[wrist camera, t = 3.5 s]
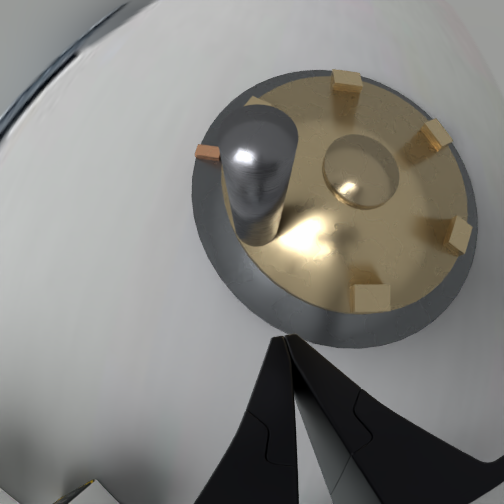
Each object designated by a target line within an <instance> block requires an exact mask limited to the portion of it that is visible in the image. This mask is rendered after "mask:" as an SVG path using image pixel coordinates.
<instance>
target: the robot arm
mask: <svg viewBox="0 0 504 504" xmlns="http://www.w3.org/2000/svg"><path fill="white" fill-rule="evenodd" d="M294 397H295V400H296V403H297V406H298V408H299V411H300V414H301V417H302V419H303V422H304V425H305V428H306V430H307V433H308V436H309V439H310V441H311V444H312V447H313V450H314V452H315V455H316V458H317V460H318V463H319V466H320V469H321V471H322V474H323V477H324V479H325V482H326V485H327V488H328V490H329V493H330V495H331V498H332V501H333V504H504V455H503V456H502V457H500V458H499V459H497V460H496V461H494V462H489V463H486V462H482V461H479V460H477V459H475V458H474V457H472V456H470V455H468V454H466V453H464V452H462V451H461V450H459V449H457V448H455V447H453V446H452V445H450V444H448V443H446V442H444V441H443V440H441V439H439V438H437V437H436V436H434V435H432V434H430V433H429V432H427V431H425V430H424V429H422V428H420V427H418V426H417V425H415V424H413V423H412V422H410V421H408V420H407V419H405V418H403V417H402V416H400V415H398V414H397V413H395V412H393V411H392V410H390V409H389V408H387V407H386V406H384V405H383V404H381V403H380V402H379V401H377V400H376V399H375V398H373V397H372V396H371V395H369V394H368V393H367V392H366V391H365V390H363V389H361V388H360V387H359V386H358V385H357V384H356V383H354V382H353V381H352V380H351V379H350V378H348V377H347V376H346V375H345V374H343V373H342V372H341V371H340V370H339V369H337V368H336V367H335V366H334V365H333V364H332V363H330V362H329V361H328V360H327V359H326V358H324V357H323V356H322V355H321V354H320V353H318V352H317V351H316V350H315V349H314V348H313V347H311V346H310V345H309V344H308V343H307V342H306V341H304V340H303V339H302V338H301V337H300V336H299V335H297V334H290V335H285V337H284V336H278V337H273V338H271V341H270V344H269V346H268V349H267V352H266V355H265V358H264V361H263V364H262V367H261V370H260V372H259V375H258V378H257V381H256V384H255V386H254V389H253V392H252V395H251V397H250V400H249V403H248V406H247V408H246V411H245V413H244V416H243V418H242V421H241V423H240V426H239V428H238V430H237V433H236V435H235V436H234V438H233V440H232V442H231V444H230V446H229V448H228V449H227V451H226V453H225V454H224V456H223V458H222V459H221V461H220V463H219V464H218V466H217V468H216V469H215V471H214V472H213V474H212V476H211V477H210V479H209V481H208V482H207V484H206V485H205V487H204V489H203V490H202V492H201V493H200V495H199V496H198V498H197V499H196V501H195V503H194V504H299V492H298V464H297V441H296V421H295V403H294Z"/></svg>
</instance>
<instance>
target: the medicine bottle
mask: <svg viewBox="0 0 504 504" xmlns="http://www.w3.org/2000/svg"><path fill="white" fill-rule="evenodd" d="M53 504H119V503H118V502H117V501H116V500H115V499H114V498H113V496H112V495H111V494H110V493H109V492H108V491H107V490H106V489H105V488H104V487H103V486H102V485H101V484H100V483H99V482H98V481H97V480H95V479H94V480H91V481H90V482H88V483H86V484H85V485H83V486H81V487H79V488H78V489H76V490H74V491H72V492H71V493H69V494H67V495H65V496H64V497H62V498H60V499H58V500H57V501H56V502H55V503H53Z"/></svg>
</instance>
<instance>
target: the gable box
mask: <svg viewBox="0 0 504 504" xmlns="http://www.w3.org/2000/svg"><path fill="white" fill-rule="evenodd" d="M0 504H20V503H18V502H17V501H16V500H15V499H13V498H12V497H11V496H10V495H8V494H7V493H6V492H5V491H4V490H2V489H1V488H0Z"/></svg>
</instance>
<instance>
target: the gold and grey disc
mask: <svg viewBox="0 0 504 504" xmlns="http://www.w3.org/2000/svg"><path fill="white" fill-rule="evenodd" d="M331 73H332V71H327V70H310V71H300V72H293V73H288V74H284V75H280V76H277V77H273V78H271V79H268V80H266V81H263V82H261V83H259V84H257V85H255V86H253V87H252V88H250V89H248V90H246V91H245V92H243V93H242V94H241V95H239V96H238V97H237V98H235V99H234V100H233V101H232V102H231V103H230V104H229V105H228V106H227V107H226V108H225V109H224V110H223V111H222V112H221V113H220V114H219V115H218V116H217V118H216V119H215V120H214V122H213V123H212V125H211V126H210V128H209V129H208V131H207V133H206V135H205V137H204V139H203V141H202V143H201V145H200V144H198V146H197V149H196V152H195V157H196V161H195V166H194V171H193V176H192V204H193V213H194V219H195V223H196V226H197V230H198V234H199V237H200V240H201V242H202V245H203V247H204V249H205V252H206V254H207V256H208V258H209V260H210V262H211V263H212V265H213V267H214V268H215V270H216V271H217V273H218V275H219V276H220V278H221V279H222V281H223V282H224V283H225V284H226V285H227V287H228V288H229V289H230V290H231V292H232V293H233V294H234V295H235V296H236V298H237V299H239V300H240V301H241V302H242V303H243V304H244V305H245V306H246V307H247V308H248V309H249V310H250V311H252V312H253V313H254V314H255V315H257V316H258V317H260V318H261V319H263V320H264V321H265V322H267V323H268V324H270V325H271V326H273V327H275V328H277V329H279V330H281V331H283V332H285V333H287V334H289V335H290V334H297V335H299V336H300V337H301V338H302V339H303V340H306V341H309V342H312V343H315V344H319V345H325V346H331V347H336V348H368V347H375V346H382V345H385V344H389V343H392V342H396V341H399V340H402V339H404V338H406V337H408V336H410V335H412V334H414V333H416V332H418V331H420V330H421V329H423V328H424V327H426V326H427V325H428V324H430V323H431V322H433V321H434V320H435V319H436V318H437V317H438V316H439V315H440V314H441V313H442V312H443V311H444V310H446V309H447V307H448V306H449V305H450V303H451V302H452V301H453V300H454V298H455V297H456V296H457V294H458V292H459V291H460V289H461V287H462V285H463V283H464V282H465V280H466V278H467V275H468V272H469V270H470V267H471V264H472V261H473V257H474V252H475V248H476V240H477V209H476V203H475V196H474V192H473V189H472V185H471V181H470V178H469V176H468V173H467V171H466V168H465V166H464V164H463V162H462V160H461V158H460V156H459V154H458V152H457V150H456V149H455V147H454V146H453V144H452V143H451V144H450V145H449V148H450V150H451V152H452V154H453V156H454V157H455V159H456V162H457V164H458V167H459V169H460V172H461V175H462V178H463V182H464V186H465V191H466V197H467V212H468V217H467V223H468V224H469V225H471V226H472V231H471V235H470V238H469V242H468V245H467V249H466V252H465V254H464V255H461V256H459V257H458V258H457V260H456V262H455V264H454V265H453V267H452V269H451V271H450V272H449V273H448V274H447V276H446V277H445V278H444V279H443V281H442V282H441V283H440V284H439V285H438V286H437V287H436V288H434V289H433V290H432V291H431V292H430V293H428V294H427V295H425V296H424V297H422V298H421V299H419V300H418V301H416V302H414V303H412V304H409V305H407V306H405V307H402V308H399V309H395V310H391V311H388V312H382V313H373V314H363V315H357V314H342V313H337V312H332V311H327V310H323V309H321V308H318V307H315V306H312V305H309V304H307V303H305V302H303V301H301V300H299V299H297V298H295V297H293V296H291V295H290V294H288V293H287V292H285V291H284V290H282V289H281V288H279V287H278V286H277V285H275V284H274V283H273V282H272V281H271V280H270V279H268V278H267V277H266V276H265V275H264V274H263V273H262V272H261V271H260V270H259V269H258V268H257V267H256V265H255V264H254V263H253V262H252V261H251V259H250V258H249V257H248V256H247V254H246V252H245V251H244V249H243V248H242V246H241V245H240V243H239V242H238V239H237V237H236V235H235V233H234V231H233V229H232V226H231V224H230V221H229V217H228V214H227V211H226V207H225V203H224V198H223V191H222V184H221V167H222V162H221V157H220V151H219V146H218V141H217V133H218V129H219V126H220V124H221V122H222V121H223V119H224V118H225V117H226V116H227V115H228V114H230V113H231V112H232V111H234V110H236V109H238V108H240V107H243V106H244V105H245V104H246V103H247V102H248V101H249V99H250V98H251V97H252V96H254V97H256V98H260V97H261V96H263V95H264V94H265V93H267V92H269V91H271V90H272V89H274V88H276V87H278V86H281V85H283V84H286V83H288V82H292V81H295V80H299V79H303V78H310V77H320V76H331ZM361 80H362V81H363V82H367V83H370V84H373V85H375V86H378V87H380V88H383V89H385V90H387V91H389V92H391V93H393V94H395V95H397V96H398V97H400V98H401V99H403V100H404V101H406V102H407V103H409V104H410V105H412V106H413V107H414V108H415V109H416V110H418V111H419V112H420V113H421V114H422V115H423V116H424V117H425V118H426V119H427V120H428V121H431V120H433V119H432V118H431V117H430V116H429V115H428V114H427V113H426V112H425V111H423V110H422V109H421V108H420V107H419V106H417V105H416V104H415V103H414V102H412V101H411V100H409V99H408V98H406V97H405V96H403V95H402V94H400V93H399V92H397V91H395V90H393V89H391V88H389V87H387V86H385V85H383V84H381V83H379V82H376V81H374V80H371V79H368V78H365V77H362V76H361Z"/></svg>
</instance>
